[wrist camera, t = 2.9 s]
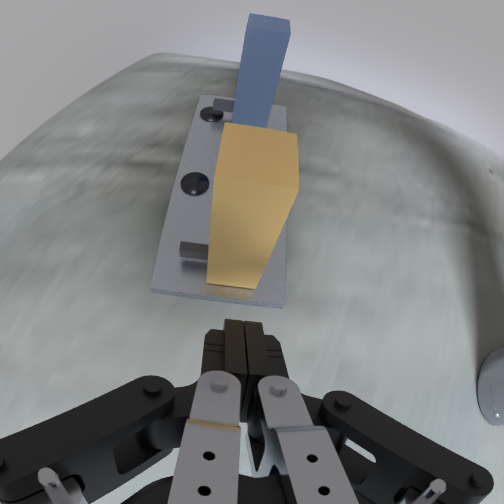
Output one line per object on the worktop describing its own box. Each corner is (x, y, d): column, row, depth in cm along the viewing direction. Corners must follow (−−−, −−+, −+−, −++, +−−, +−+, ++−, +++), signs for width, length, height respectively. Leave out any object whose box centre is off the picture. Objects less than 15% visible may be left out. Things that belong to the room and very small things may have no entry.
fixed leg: (215, 104, 37) (225, 10, 25) (266, 112, 37) (289, 20, 26) (209, 124, 35) (220, 23, 24) (265, 132, 36) (290, 33, 24)
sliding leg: (184, 236, 28) (181, 117, 16) (258, 245, 28) (297, 133, 17) (177, 278, 26) (163, 170, 14) (255, 288, 26) (299, 189, 15)
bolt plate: (200, 100, 38) (201, 93, 37) (284, 112, 40) (286, 105, 39) (151, 291, 26) (149, 286, 25) (281, 308, 27) (285, 303, 26)
